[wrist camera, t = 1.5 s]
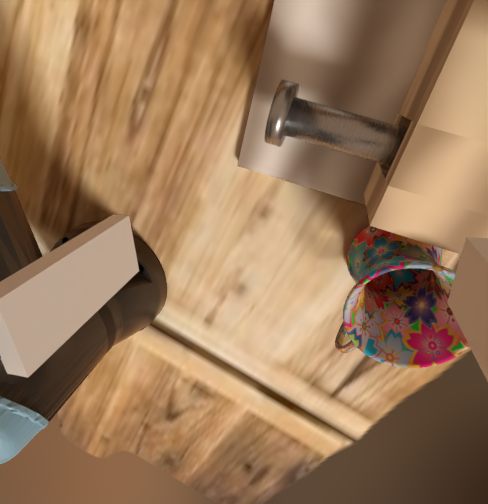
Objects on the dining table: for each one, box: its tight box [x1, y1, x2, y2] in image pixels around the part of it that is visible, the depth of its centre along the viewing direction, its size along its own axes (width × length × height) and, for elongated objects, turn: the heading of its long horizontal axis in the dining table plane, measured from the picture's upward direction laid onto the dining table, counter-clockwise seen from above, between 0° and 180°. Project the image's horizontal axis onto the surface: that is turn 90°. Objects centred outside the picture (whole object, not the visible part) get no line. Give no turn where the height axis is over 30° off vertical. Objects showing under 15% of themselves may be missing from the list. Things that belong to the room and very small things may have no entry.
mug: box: [335, 226, 470, 368], centre depth 30 cm, size 12×9×11 cm
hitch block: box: [237, 0, 488, 254], centre depth 24 cm, size 26×18×9 cm
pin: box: [265, 79, 408, 167], centre depth 25 cm, size 15×5×5 cm, turn 77°
